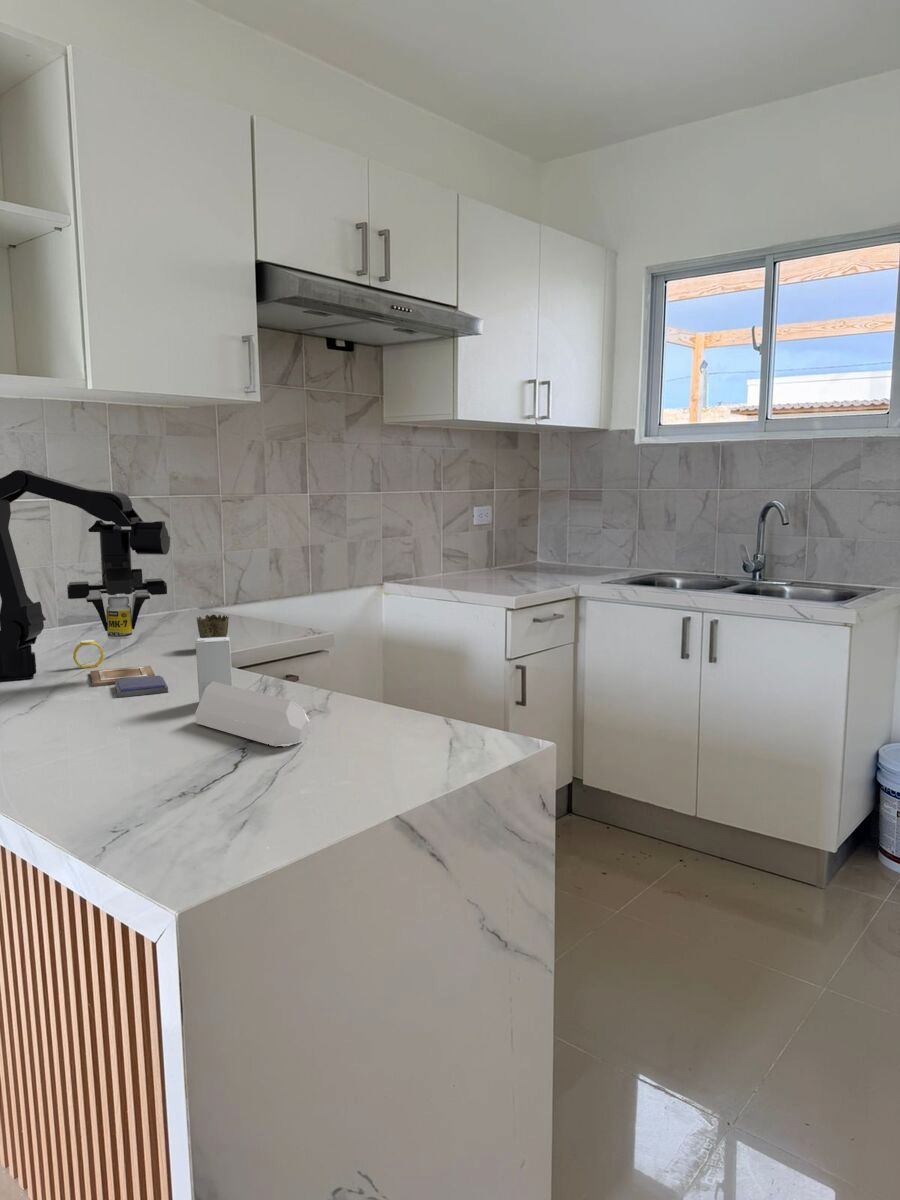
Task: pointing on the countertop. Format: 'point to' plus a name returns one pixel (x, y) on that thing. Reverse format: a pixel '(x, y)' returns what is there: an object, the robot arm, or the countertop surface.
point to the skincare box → (213, 662)
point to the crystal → (252, 715)
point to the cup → (213, 626)
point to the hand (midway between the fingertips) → (119, 629)
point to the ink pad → (140, 686)
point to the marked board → (119, 674)
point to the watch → (88, 642)
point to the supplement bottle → (119, 618)
